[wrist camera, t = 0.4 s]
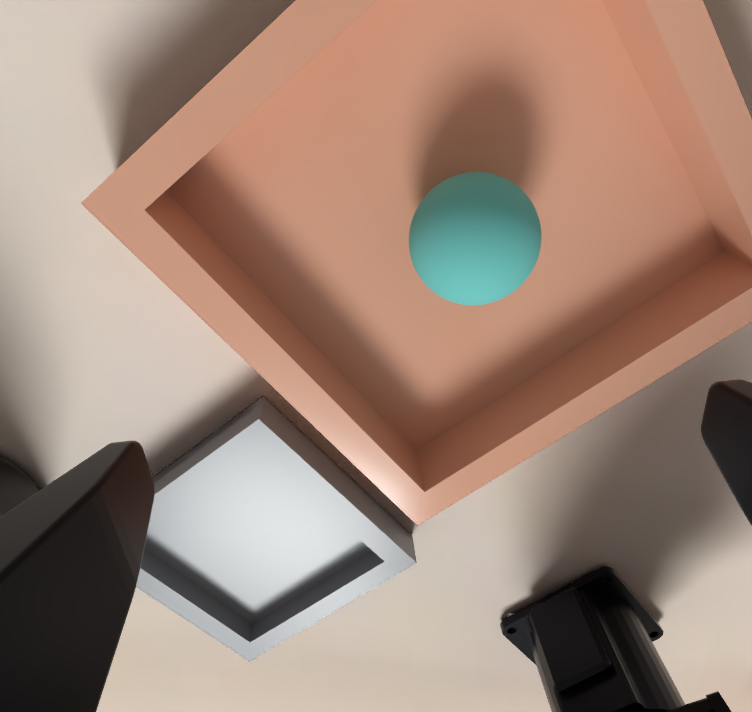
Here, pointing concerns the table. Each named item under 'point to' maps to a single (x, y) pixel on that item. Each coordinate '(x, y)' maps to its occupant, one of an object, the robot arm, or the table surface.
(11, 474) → the supplement bottle
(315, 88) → the dish
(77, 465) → the robot arm
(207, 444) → the tray
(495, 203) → the ball
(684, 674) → the table surface
